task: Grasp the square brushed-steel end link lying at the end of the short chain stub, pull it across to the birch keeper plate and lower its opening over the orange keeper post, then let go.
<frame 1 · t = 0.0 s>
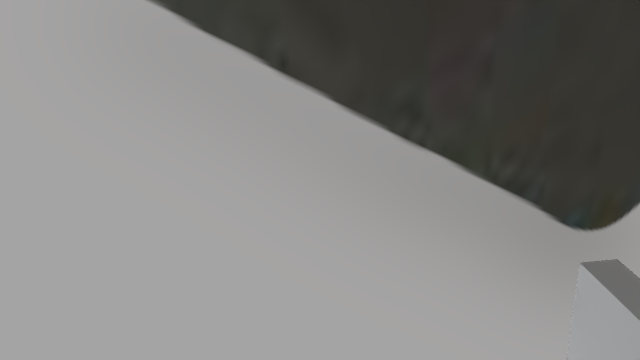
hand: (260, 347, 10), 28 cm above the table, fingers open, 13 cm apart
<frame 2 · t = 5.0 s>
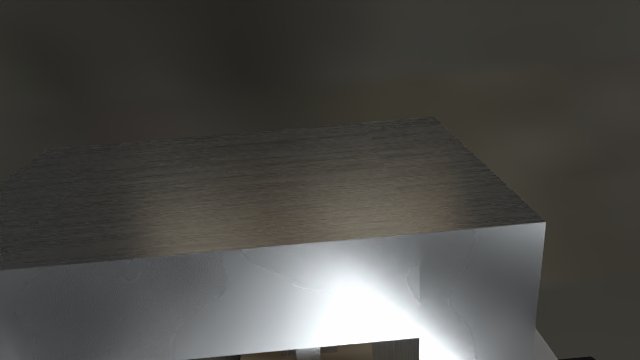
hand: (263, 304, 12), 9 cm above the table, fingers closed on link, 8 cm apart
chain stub: (306, 311, 22), on the table
link: (264, 295, 12), point 8 cm above the table, touching gripper
when the fingers open (3 cm above the table, at t = 8.8 s): link drops 1 cm, resting on keeper.
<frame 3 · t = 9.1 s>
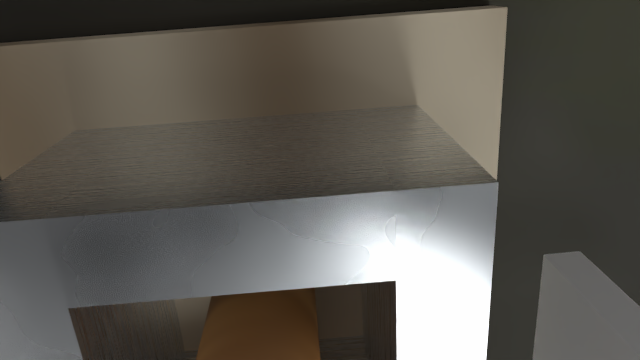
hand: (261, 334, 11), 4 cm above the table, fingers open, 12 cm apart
link: (265, 265, 13), point 1 cm above the table, touching keeper
keeper: (268, 246, 14), on the table
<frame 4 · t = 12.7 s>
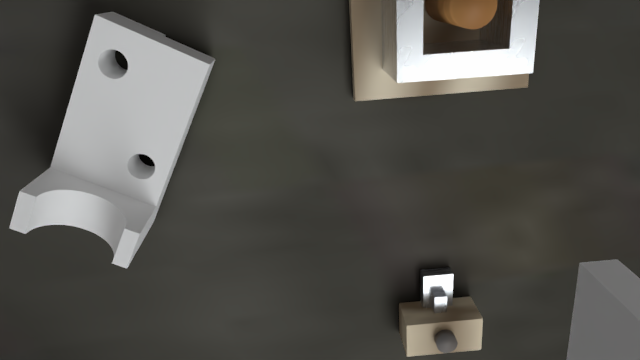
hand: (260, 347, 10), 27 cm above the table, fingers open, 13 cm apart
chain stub: (434, 284, 42), on the table
bracket: (137, 120, 36), on the table
anchor: (434, 314, 43), on the table
link: (442, 2, 33), point 1 cm above the table, touching keeper
keeper: (439, 1, 34), on the table
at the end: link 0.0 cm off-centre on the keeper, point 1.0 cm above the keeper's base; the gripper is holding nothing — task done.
